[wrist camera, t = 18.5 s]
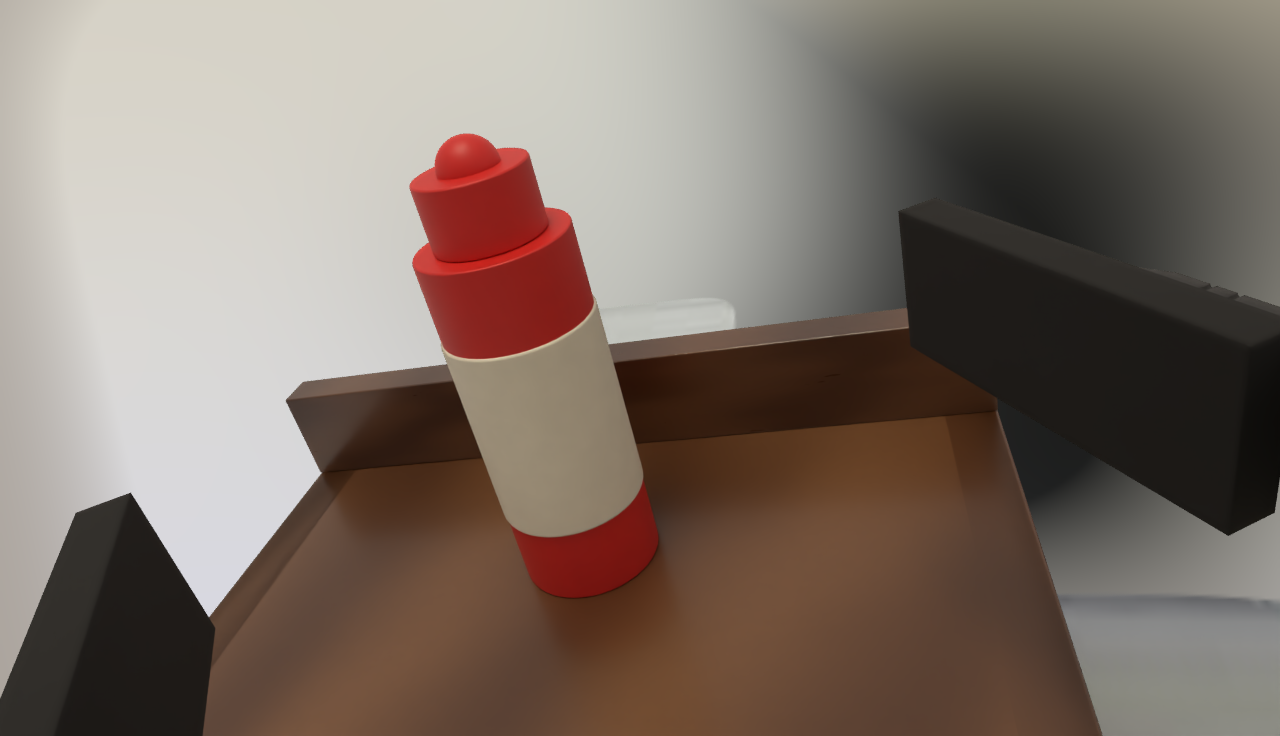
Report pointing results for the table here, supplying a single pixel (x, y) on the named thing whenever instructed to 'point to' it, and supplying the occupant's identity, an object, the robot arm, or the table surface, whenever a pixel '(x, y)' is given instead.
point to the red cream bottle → (532, 368)
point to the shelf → (667, 563)
